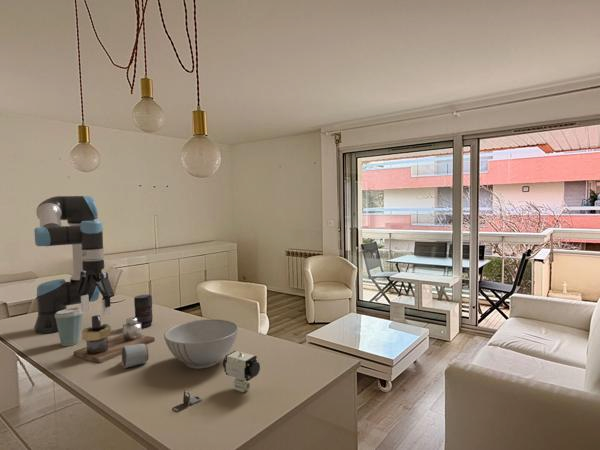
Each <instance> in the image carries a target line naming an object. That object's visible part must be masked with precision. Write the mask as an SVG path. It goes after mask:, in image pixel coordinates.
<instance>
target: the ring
mask: <svg viewBox="0 0 600 450" xmlns="http://www.w3.org/2000/svg"><path fill="white" fill-rule="evenodd" d="M111 334H112V330H111V325H110V324H109V323H104V324H101V330H100V331H94V332H92V326H88V327H85V328H83V330H82V331H81V339H82V340H83V341H86V340H87V341H92V340H100V339H103V338H106V337H108V338H109V337H110V336H111Z"/></svg>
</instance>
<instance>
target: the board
mask: <svg viewBox="0 0 600 450" xmlns="http://www.w3.org/2000/svg"><path fill="white" fill-rule="evenodd" d="M155 340H156V339H155V337H152V336H149V335H145V334H142V337H141V338H140V339H138V340H134V341H124V340H123V333H122V334H119V335H117V336H112V337H111V338H108V350H107V351H106V352H104V353H101V354H96V355H89V354H87V346H85V347H82V348H80V349H76V350H73V356H75V357H80V358H81V359H86V360H89V361H92V362H95V363H99V364H102V363H104V362H106V361H109V360H111V359H113V358H117V357H118V356H122V348H123V347H124V346H129V345H136V344H146V345H148V344H151V343H153V342H155Z"/></svg>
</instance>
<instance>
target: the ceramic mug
mask: <svg viewBox="0 0 600 450" xmlns="http://www.w3.org/2000/svg"><path fill="white" fill-rule="evenodd" d="M147 345H148V344H136V345H129V346H124V347H123V348H122V354H121V363H122V367H123V368H124V369H127V368H131V367H135V366H139V365H143V364H145V363H147V362H148V360H149V356H150V355H149V348H148V346H147Z"/></svg>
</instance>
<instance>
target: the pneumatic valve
mask: <svg viewBox="0 0 600 450" xmlns="http://www.w3.org/2000/svg"><path fill="white" fill-rule="evenodd" d="M257 357H258V356H257V355H254V354H250V353H246V352H242V351H238V350H234V351H232V352H230V353H227V354H226V355H225V356H224V357H223V360H222V367H223V369H224V371H223V372H224V373H225V375H226V376H230V377H233V378H235V379H233V382H232V383H233V390H234V391H237V392H240V393H245V391H248V390H249V389H250V388H251V382H250V381H251V380H252V379H254V378H256V377H257V376H258V375H259V373H260V370H261V365H260V363H259V361H258V359H257Z"/></svg>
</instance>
